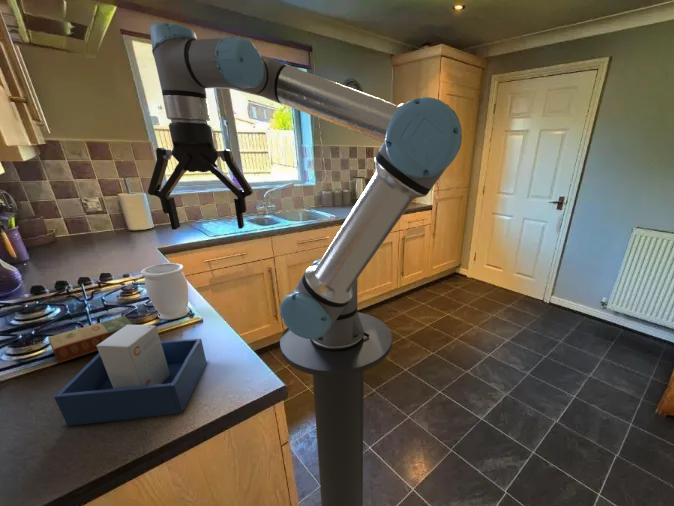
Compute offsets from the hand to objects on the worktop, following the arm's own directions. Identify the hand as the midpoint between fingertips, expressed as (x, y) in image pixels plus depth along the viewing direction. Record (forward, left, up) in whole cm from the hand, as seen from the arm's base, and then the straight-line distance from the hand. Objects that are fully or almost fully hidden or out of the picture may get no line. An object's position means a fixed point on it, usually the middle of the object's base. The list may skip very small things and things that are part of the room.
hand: (209, 227), depth 74 cm
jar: (+21, -21, -32) cm, 44 cm away
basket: (+14, +15, -32) cm, 38 cm away
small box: (+14, +15, -31) cm, 37 cm away
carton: (+34, -6, -32) cm, 47 cm away
